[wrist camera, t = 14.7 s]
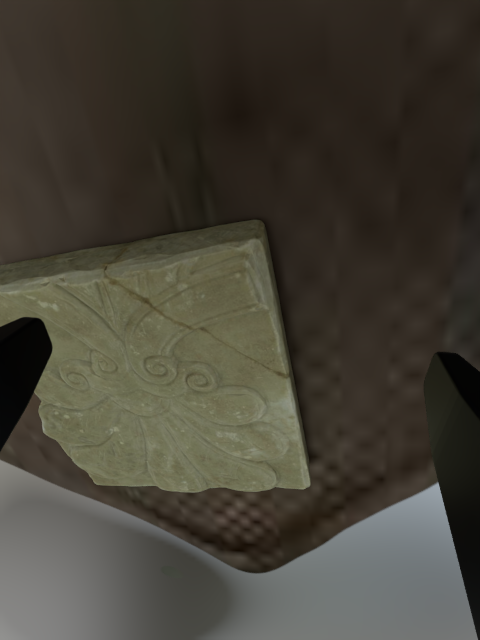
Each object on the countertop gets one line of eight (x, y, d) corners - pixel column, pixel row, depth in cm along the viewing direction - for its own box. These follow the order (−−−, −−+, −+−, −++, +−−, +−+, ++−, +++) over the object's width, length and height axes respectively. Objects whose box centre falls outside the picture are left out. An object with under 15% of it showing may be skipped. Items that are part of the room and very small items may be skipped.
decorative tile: (268, 213, 20) (260, 243, 17) (312, 458, 31) (312, 501, 28) (-27, 258, 25) (-72, 288, 22) (103, 457, 36) (84, 495, 33)
